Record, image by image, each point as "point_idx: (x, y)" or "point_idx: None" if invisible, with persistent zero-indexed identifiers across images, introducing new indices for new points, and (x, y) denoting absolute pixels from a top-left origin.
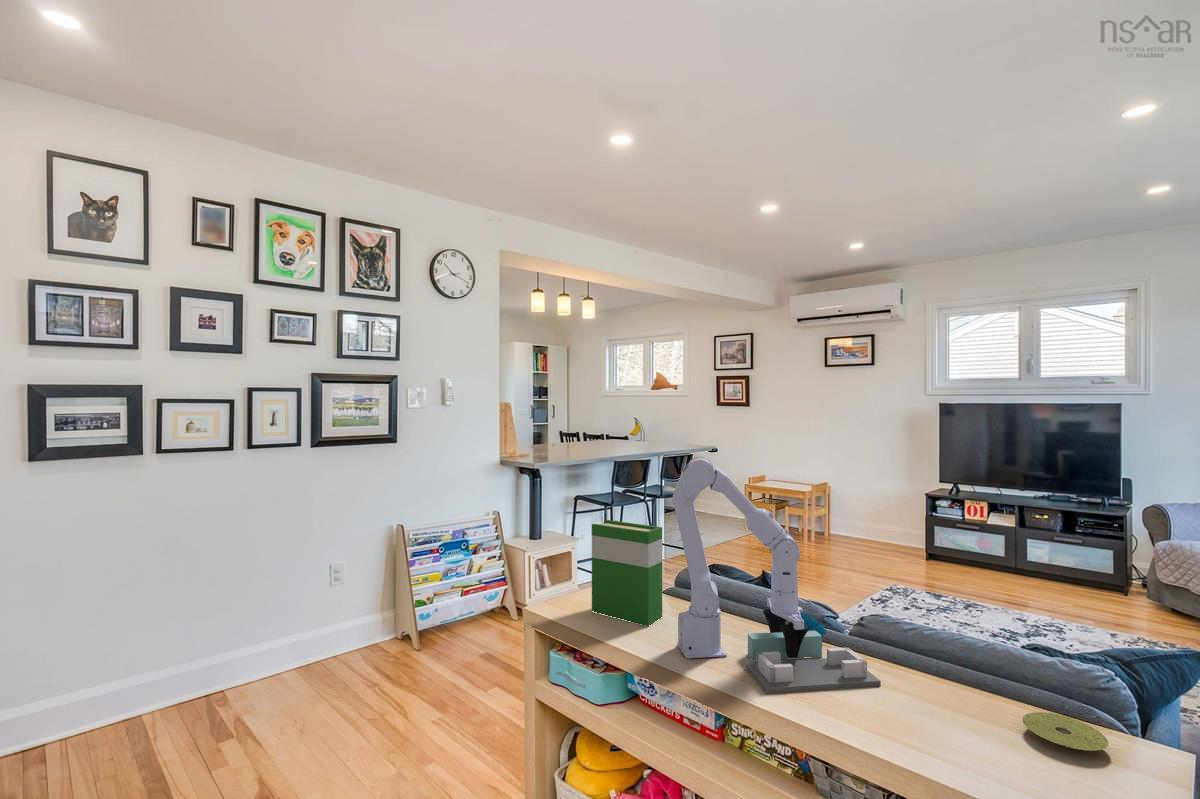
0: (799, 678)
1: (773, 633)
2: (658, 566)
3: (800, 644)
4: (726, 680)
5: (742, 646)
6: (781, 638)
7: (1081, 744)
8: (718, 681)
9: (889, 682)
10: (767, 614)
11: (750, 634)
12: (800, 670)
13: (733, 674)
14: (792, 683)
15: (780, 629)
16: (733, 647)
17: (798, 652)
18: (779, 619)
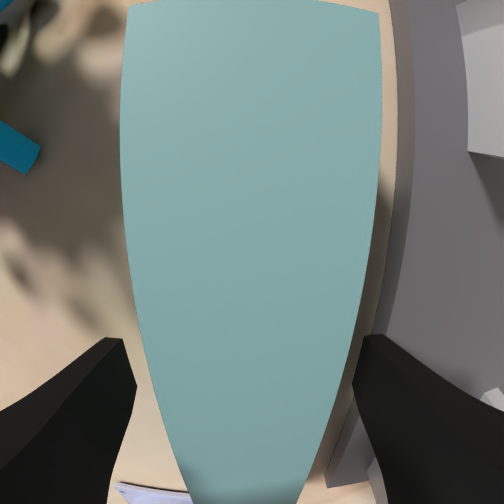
0: (501, 366)
1: (210, 497)
2: None
3: (452, 388)
4: (370, 493)
5: (129, 444)
6: (302, 479)
7: None
8: (366, 500)
9: None
10: None
11: None
12: (472, 349)
13: (349, 489)
14: (501, 390)
15: (81, 419)
16: (145, 465)
17: (403, 351)
18: (53, 502)
